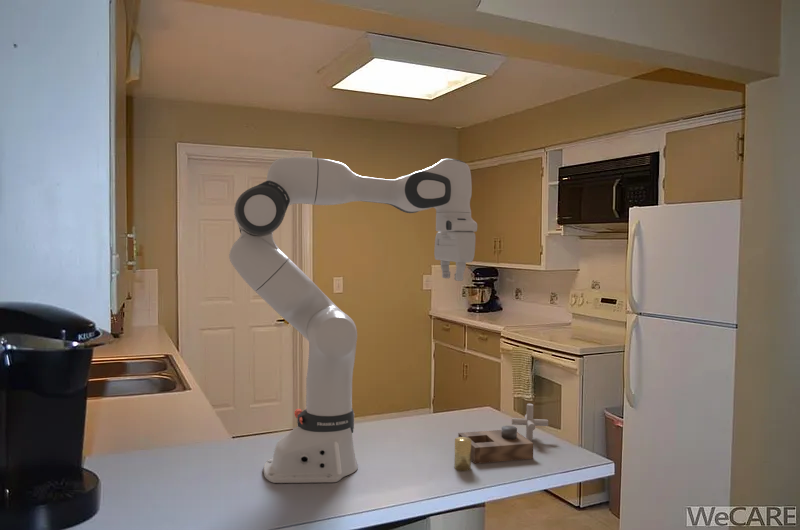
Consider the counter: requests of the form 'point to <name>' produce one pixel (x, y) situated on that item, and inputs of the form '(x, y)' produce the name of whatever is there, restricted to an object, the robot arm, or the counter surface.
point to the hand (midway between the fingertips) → (452, 279)
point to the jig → (499, 445)
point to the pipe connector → (529, 422)
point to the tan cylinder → (462, 454)
